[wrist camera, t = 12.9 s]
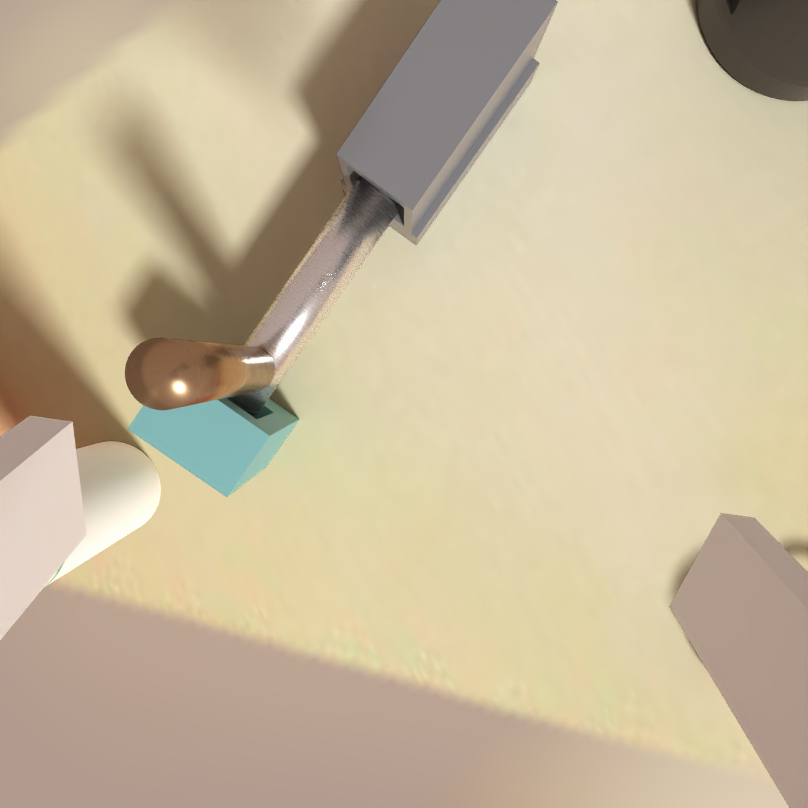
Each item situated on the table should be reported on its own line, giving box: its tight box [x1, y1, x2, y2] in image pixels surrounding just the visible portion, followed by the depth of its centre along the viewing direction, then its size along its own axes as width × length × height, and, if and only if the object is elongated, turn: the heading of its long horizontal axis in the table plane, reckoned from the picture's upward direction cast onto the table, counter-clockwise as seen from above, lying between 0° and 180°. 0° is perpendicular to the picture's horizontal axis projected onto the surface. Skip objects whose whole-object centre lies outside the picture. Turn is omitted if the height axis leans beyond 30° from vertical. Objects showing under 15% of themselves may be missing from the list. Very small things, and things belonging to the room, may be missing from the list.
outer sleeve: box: [336, 0, 558, 245], centre depth 33 cm, size 6×14×8 cm, turn 145°
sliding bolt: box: [125, 180, 397, 418], centre depth 27 cm, size 3×18×15 cm, turn 144°
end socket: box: [128, 398, 299, 497], centre depth 34 cm, size 7×4×8 cm, turn 54°
